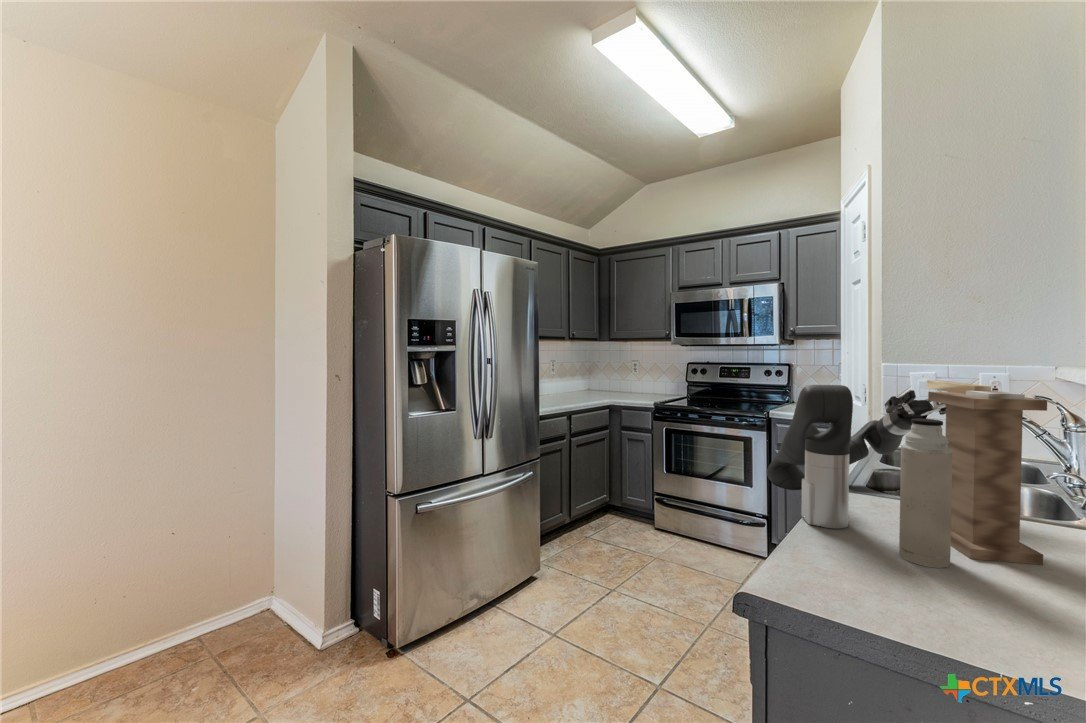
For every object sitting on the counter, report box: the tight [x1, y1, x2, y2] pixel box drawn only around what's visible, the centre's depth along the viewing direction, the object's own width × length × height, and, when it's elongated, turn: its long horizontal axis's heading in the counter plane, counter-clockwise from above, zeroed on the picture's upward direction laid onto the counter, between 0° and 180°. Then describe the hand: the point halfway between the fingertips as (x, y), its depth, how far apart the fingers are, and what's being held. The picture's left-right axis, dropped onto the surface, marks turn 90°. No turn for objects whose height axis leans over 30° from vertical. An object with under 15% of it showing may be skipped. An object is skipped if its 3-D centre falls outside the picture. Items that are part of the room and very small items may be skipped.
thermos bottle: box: [898, 418, 952, 569], centre depth 95 cm, size 8×8×28 cm
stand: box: [927, 391, 1048, 566], centre depth 102 cm, size 12×16×32 cm
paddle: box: [926, 379, 1026, 399], centre depth 106 cm, size 6×25×2 cm, turn 167°
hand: (932, 393), depth 120 cm, fingers open, 8 cm apart
